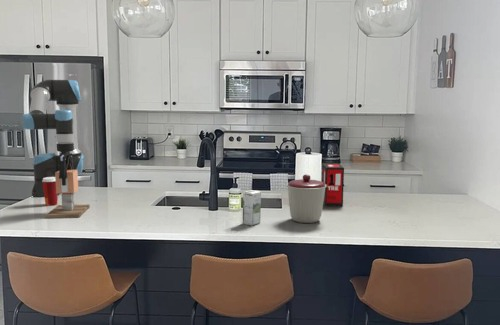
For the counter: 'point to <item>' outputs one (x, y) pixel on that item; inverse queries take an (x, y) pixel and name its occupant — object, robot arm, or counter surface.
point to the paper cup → (50, 191)
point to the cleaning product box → (333, 183)
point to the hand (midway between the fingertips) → (67, 190)
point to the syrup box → (251, 207)
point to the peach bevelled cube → (72, 181)
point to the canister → (306, 199)
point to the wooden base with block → (67, 208)
